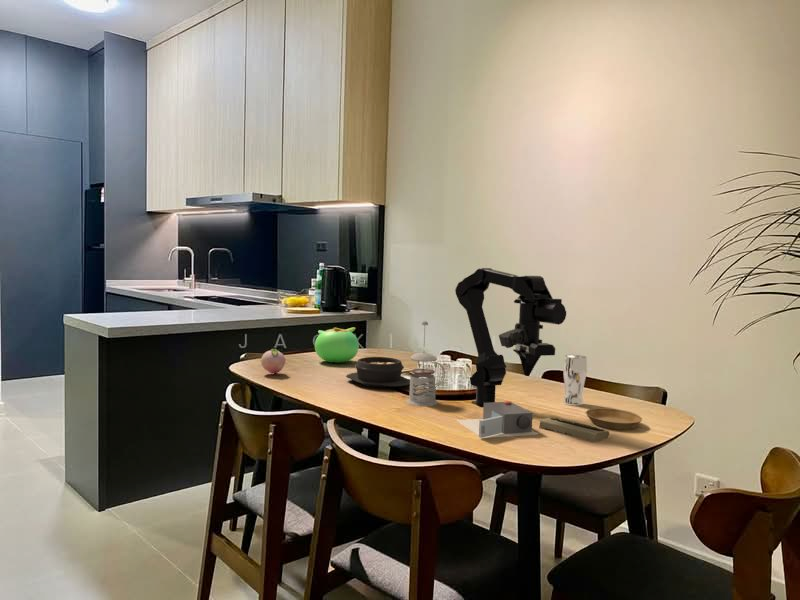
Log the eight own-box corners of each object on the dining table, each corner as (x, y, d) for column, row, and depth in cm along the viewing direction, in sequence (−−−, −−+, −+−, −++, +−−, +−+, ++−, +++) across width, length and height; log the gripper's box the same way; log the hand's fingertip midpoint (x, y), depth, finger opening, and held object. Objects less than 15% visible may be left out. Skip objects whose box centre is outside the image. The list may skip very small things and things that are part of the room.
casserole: (333, 382, 205) (334, 358, 204) (368, 375, 220) (369, 352, 219) (390, 394, 190) (391, 368, 189) (423, 385, 205) (424, 361, 204)
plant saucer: (650, 425, 164) (651, 416, 164) (626, 435, 154) (626, 425, 154) (601, 414, 175) (601, 405, 175) (575, 422, 165) (575, 413, 165)
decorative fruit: (258, 372, 217) (259, 345, 216) (280, 371, 220) (281, 345, 219) (264, 377, 208) (264, 349, 208) (287, 376, 212) (287, 349, 211)
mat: (456, 421, 161) (456, 420, 161) (508, 418, 166) (508, 417, 166) (481, 439, 146) (481, 437, 145) (539, 435, 150) (539, 434, 150)
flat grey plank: (609, 439, 151) (610, 426, 151) (595, 445, 145) (596, 432, 145) (553, 425, 162) (554, 413, 162) (538, 431, 156) (539, 418, 156)
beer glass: (578, 407, 181) (581, 359, 180) (557, 403, 186) (560, 355, 185) (588, 404, 186) (591, 356, 185) (568, 399, 191) (570, 353, 190)
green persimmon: (313, 365, 235) (314, 328, 233) (315, 358, 251) (316, 323, 250) (358, 366, 236) (359, 329, 235) (358, 359, 253) (359, 324, 252)
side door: (482, 438, 144) (483, 421, 143) (478, 437, 145) (478, 420, 144) (505, 433, 149) (506, 416, 148) (501, 431, 150) (501, 415, 150)
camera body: (482, 420, 161) (483, 400, 160) (509, 419, 163) (510, 399, 163) (505, 435, 148) (506, 413, 148) (534, 433, 151) (535, 411, 150)
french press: (402, 398, 185) (405, 319, 183) (438, 398, 187) (441, 319, 185) (409, 406, 175) (412, 322, 173) (447, 405, 178) (450, 323, 176)
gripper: (488, 317, 171) (486, 370, 173) (520, 324, 154) (517, 383, 155) (522, 317, 175) (520, 369, 176) (557, 324, 157) (554, 382, 158)
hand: (526, 375), depth 166 cm, fingers closed
